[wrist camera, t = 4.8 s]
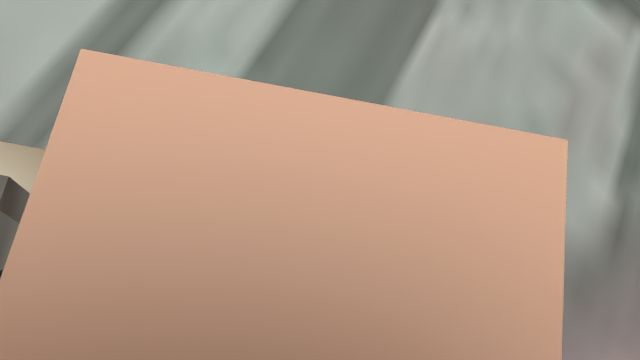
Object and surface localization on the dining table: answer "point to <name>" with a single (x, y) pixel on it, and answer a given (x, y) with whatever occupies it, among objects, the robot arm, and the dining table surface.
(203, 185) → the brown rectangular block
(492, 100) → the dining table surface
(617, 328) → the dining table surface
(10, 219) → the square socket base
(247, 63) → the dining table surface
